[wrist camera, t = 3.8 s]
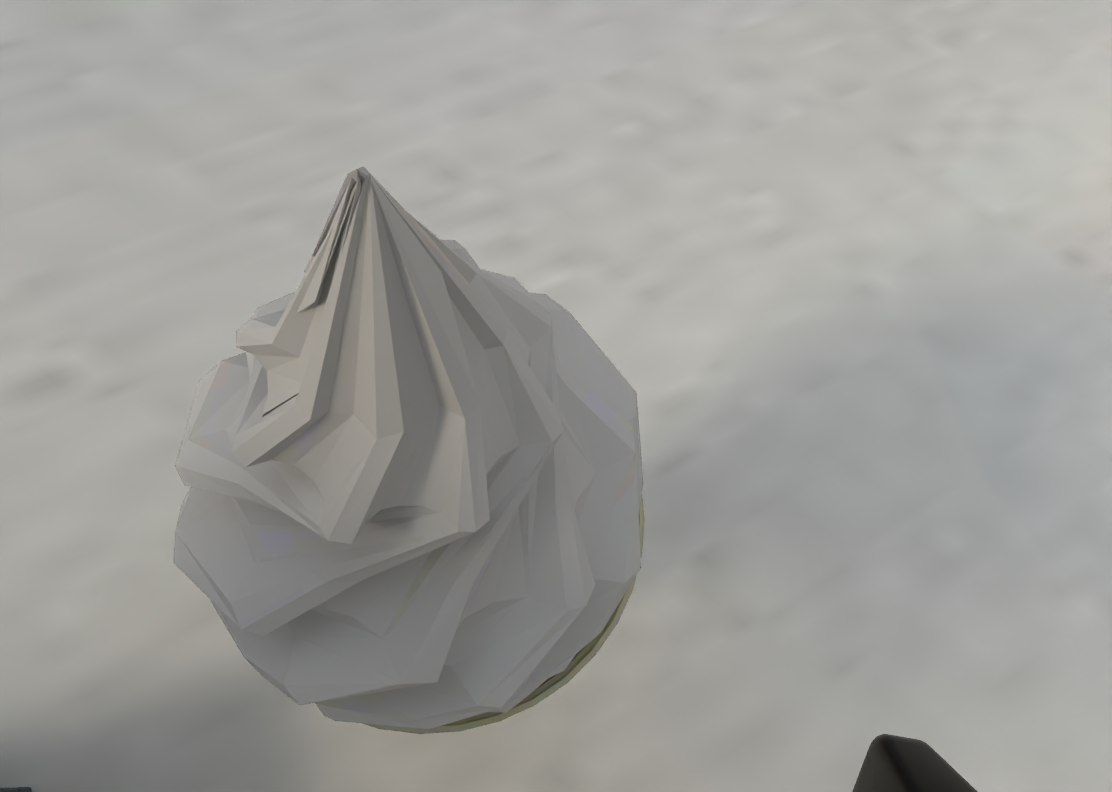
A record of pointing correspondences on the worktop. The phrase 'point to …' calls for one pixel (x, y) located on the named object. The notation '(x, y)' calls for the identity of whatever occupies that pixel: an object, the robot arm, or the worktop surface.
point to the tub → (16, 789)
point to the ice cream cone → (412, 483)
